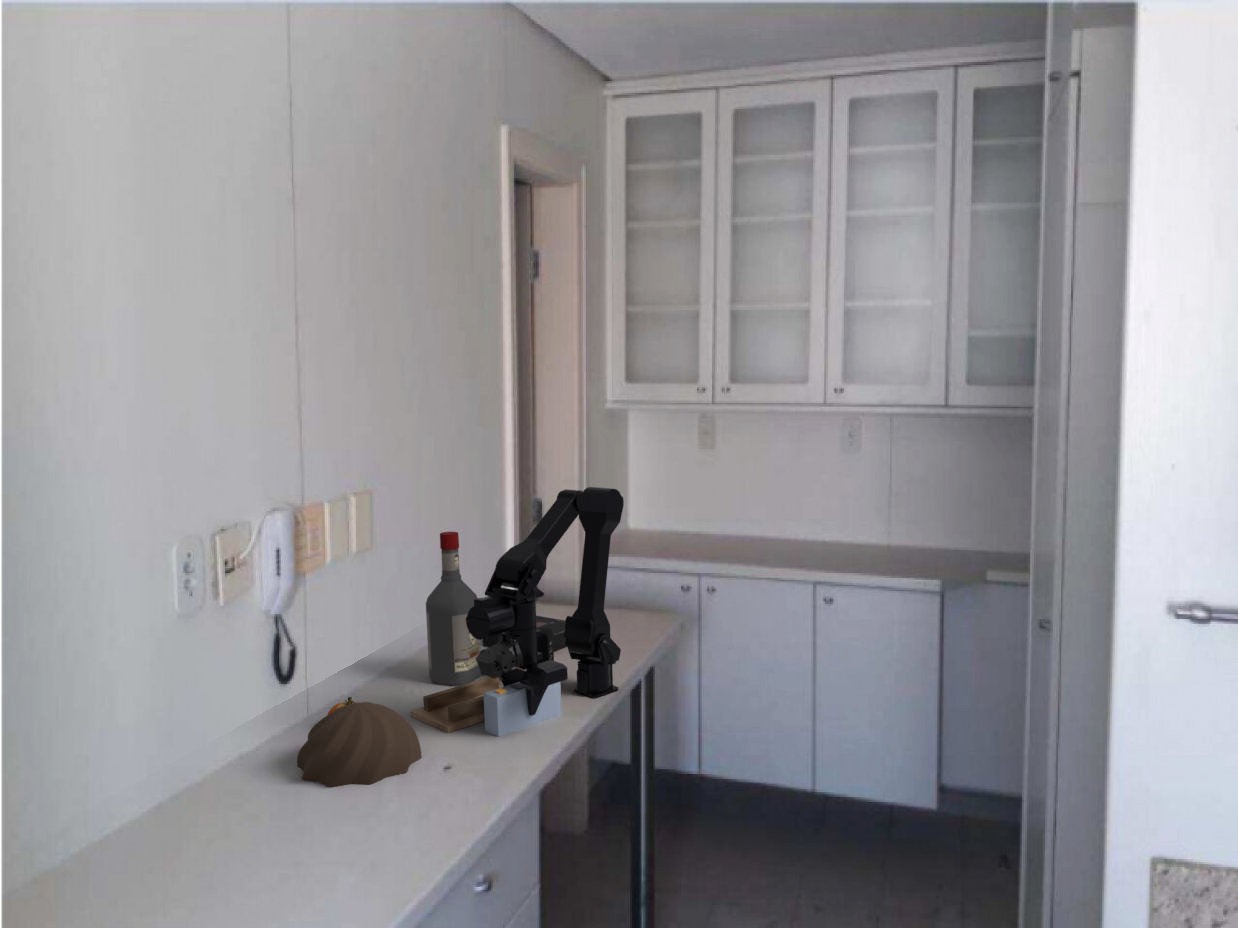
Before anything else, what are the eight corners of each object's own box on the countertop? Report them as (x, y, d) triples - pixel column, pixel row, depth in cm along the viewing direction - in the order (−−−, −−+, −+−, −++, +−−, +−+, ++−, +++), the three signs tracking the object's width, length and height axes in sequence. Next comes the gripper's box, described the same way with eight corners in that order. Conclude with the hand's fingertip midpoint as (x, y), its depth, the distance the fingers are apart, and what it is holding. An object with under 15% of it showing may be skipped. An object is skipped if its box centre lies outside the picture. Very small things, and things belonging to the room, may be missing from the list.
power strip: (547, 710, 184) (546, 671, 183) (561, 715, 181) (560, 676, 180) (485, 731, 175) (483, 690, 174) (498, 737, 172) (496, 695, 171)
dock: (499, 688, 196) (498, 671, 196) (537, 703, 188) (537, 685, 187) (410, 716, 183) (410, 697, 182) (448, 732, 174) (447, 713, 174)
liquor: (424, 683, 201) (416, 536, 198) (448, 669, 210) (441, 528, 206) (463, 687, 198) (456, 538, 194) (486, 673, 206) (480, 530, 203)
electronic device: (549, 682, 199) (547, 633, 198) (501, 680, 201) (499, 632, 200) (554, 675, 204) (553, 627, 202) (507, 674, 206) (505, 626, 204)
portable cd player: (530, 630, 239) (529, 614, 239) (586, 641, 230) (586, 624, 229) (482, 647, 226) (481, 630, 226) (540, 659, 216) (539, 641, 216)
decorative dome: (441, 744, 170) (438, 687, 169) (384, 794, 151) (380, 730, 150) (339, 735, 175) (336, 680, 174) (272, 782, 156) (267, 720, 155)
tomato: (386, 713, 180) (361, 691, 176) (368, 748, 176) (342, 726, 172) (356, 712, 185) (331, 691, 181) (338, 746, 181) (312, 725, 176)
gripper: (451, 625, 177) (455, 711, 179) (516, 646, 164) (520, 738, 165) (502, 613, 185) (505, 695, 186) (568, 631, 171) (571, 719, 173)
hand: (523, 711), depth 178 cm, fingers open, 5 cm apart
